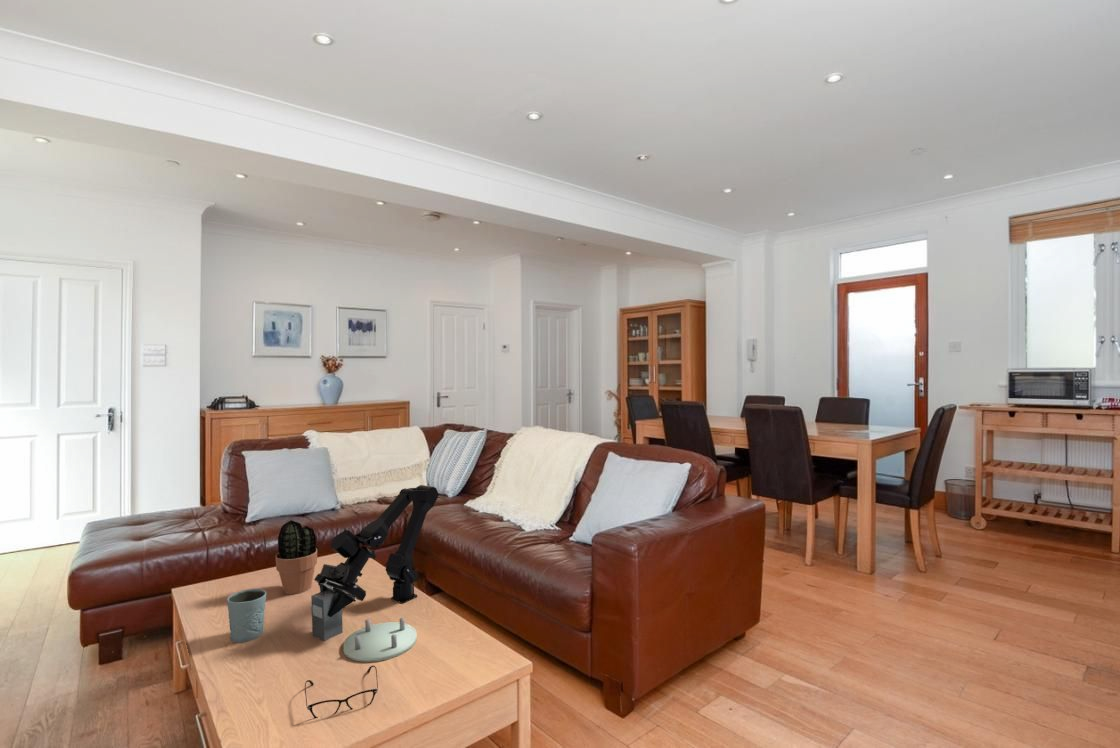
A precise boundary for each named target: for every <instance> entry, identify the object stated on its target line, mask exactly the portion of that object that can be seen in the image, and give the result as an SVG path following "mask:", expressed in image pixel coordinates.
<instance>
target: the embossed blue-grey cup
mask: <svg viewBox="0 0 1120 748" xmlns="http://www.w3.org/2000/svg"><path fill="white" fill-rule="evenodd" d="M266 601H267V591H266V590H264V589H261V588H252V589H251V588H250V589H243V590H240V591H237V592H234V593H232V594H230V595H229V596H228V597H227V599H226V602H227V611H228V623H229V625H228V627H229V631H230V634H229V635H230V636H229V637H230V640H231V641H232V642H234V643H245V642H249V641H253V640H255V639H258V638H259V637H261V636H262V635H263V634H264V630H265V629H264V627H265V626H264V625H265V610H266Z"/></svg>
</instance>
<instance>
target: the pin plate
mask: <svg viewBox="0 0 1120 748" xmlns="http://www.w3.org/2000/svg"><path fill="white" fill-rule="evenodd" d="M364 622H365V624H364V625H365V627H363V628H362V627H361V628H360V629H358V630H356V631H354V632H352V633H351V634H350V635H349V636H348V637H347V638H346V639H345V640H344V642H343V654H344V655H345V656H346V657H347V658H348V659H350V660H353V661H355V662H361V663H374V662H381V661H382V662H383V661H386V660H390V659H393V658H396V657H398V656H401V655H404V653H406V652H408V651H409V650H411V648H413V646H414V645H415V644H416V642H417V637H418V636H417V630H416V629H415V628H414V626H411V625H409V624H408V623H405V622H406V621H405V617H400V618H399V622H398V621H397V622H395V621H393V622H391V621H390V622H380V623H375V624H371V619H370V618H369V619H365V621H364Z"/></svg>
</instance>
